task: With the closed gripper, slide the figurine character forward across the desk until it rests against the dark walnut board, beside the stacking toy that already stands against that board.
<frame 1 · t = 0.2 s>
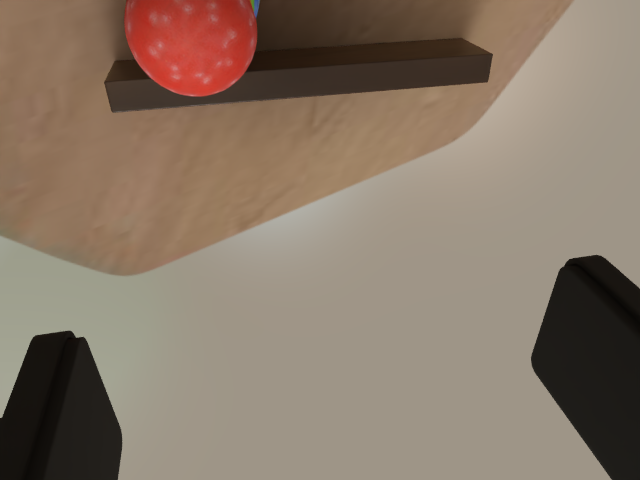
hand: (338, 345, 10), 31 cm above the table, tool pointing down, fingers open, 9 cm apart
walnut board: (298, 62, 37), on the table
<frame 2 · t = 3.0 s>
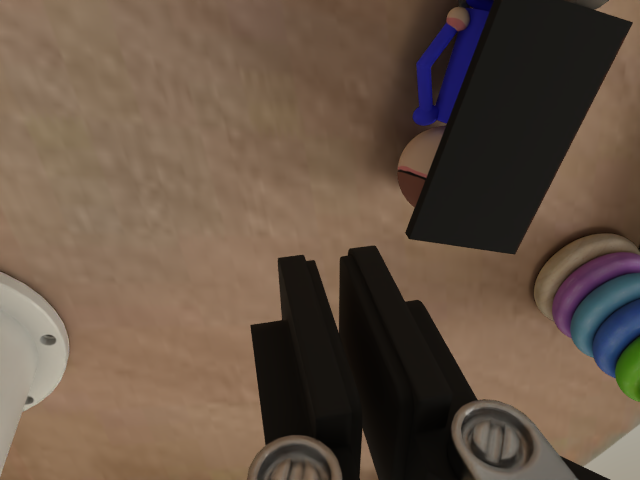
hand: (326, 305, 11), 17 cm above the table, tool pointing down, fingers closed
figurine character: (458, 63, 27), on the table
stacking toy: (577, 270, 38), on the table
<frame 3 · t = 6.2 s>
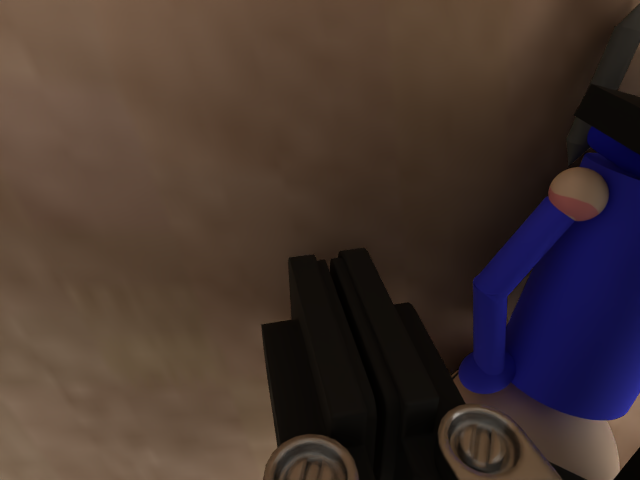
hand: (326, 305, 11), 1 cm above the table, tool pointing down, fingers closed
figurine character: (544, 238, 13), on the table, touching gripper
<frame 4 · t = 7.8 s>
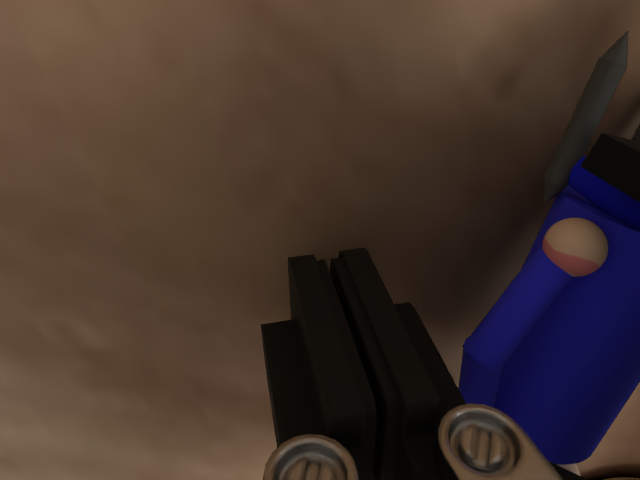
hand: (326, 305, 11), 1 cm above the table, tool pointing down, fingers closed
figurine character: (500, 269, 12), on the table, touching gripper
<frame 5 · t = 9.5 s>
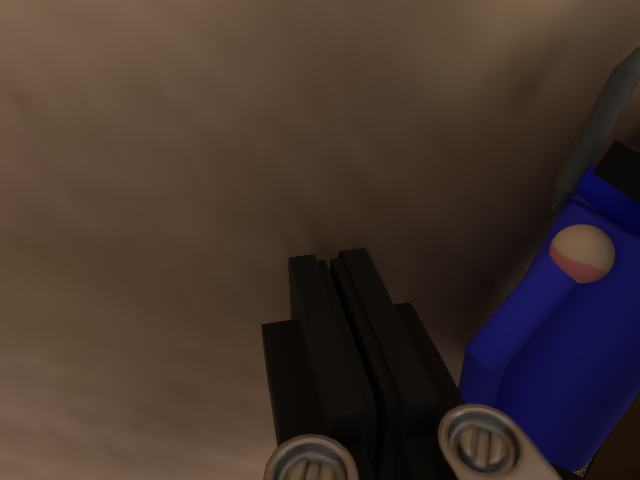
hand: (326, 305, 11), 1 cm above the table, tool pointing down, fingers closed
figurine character: (504, 275, 12), on the table, touching gripper
walnut board: (626, 434, 19), on the table
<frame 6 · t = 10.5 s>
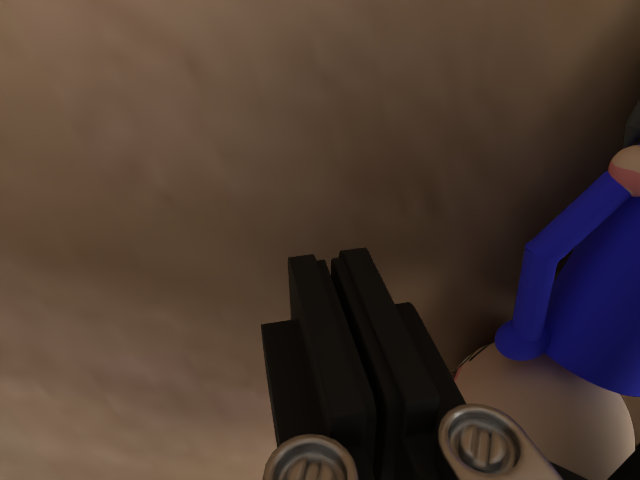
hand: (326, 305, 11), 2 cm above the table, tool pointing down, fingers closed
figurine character: (583, 225, 14), on the table
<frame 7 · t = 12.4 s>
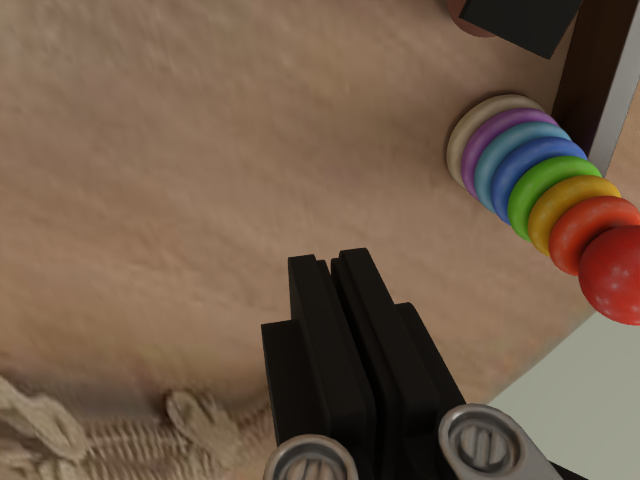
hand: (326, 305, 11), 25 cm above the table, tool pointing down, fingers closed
stacking toy: (490, 140, 38), on the table
walnut board: (581, 50, 36), on the table
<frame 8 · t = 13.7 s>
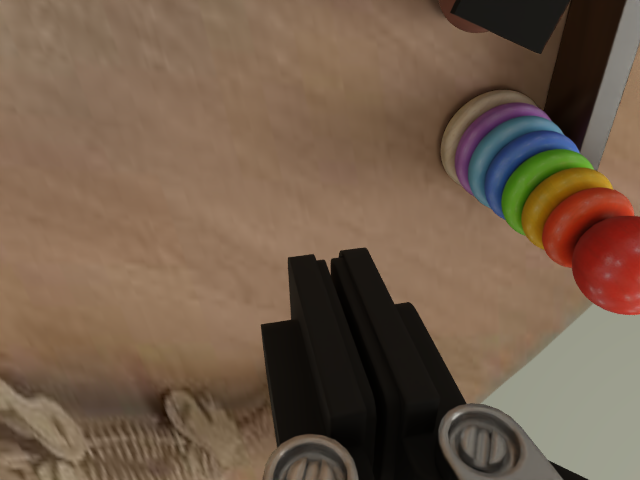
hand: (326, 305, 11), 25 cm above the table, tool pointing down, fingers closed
stacking toy: (484, 136, 39), on the table
walnut board: (572, 45, 36), on the table
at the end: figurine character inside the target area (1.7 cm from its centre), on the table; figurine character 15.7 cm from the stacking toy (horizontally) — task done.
